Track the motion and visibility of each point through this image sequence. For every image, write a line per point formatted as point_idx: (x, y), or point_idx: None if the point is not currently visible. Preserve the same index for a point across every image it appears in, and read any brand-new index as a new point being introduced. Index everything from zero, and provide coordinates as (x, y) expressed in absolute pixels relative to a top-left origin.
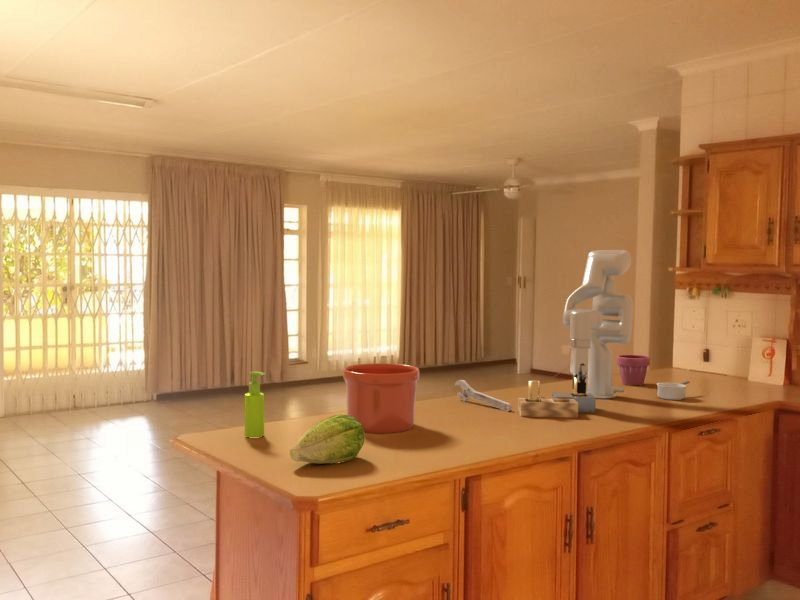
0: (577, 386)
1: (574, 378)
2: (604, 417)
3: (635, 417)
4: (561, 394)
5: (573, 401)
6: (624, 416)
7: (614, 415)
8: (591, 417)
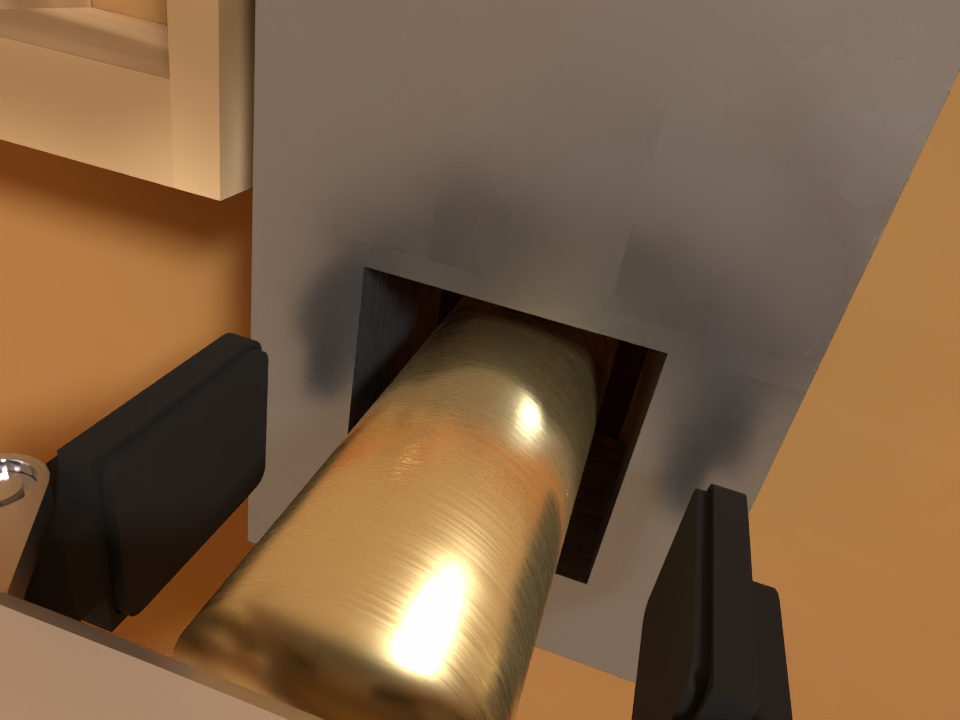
0: (136, 400)
1: (302, 584)
2: (129, 386)
3: (171, 621)
4: (572, 89)
5: (10, 91)
6: (198, 571)
7: (230, 521)
8: (105, 254)
